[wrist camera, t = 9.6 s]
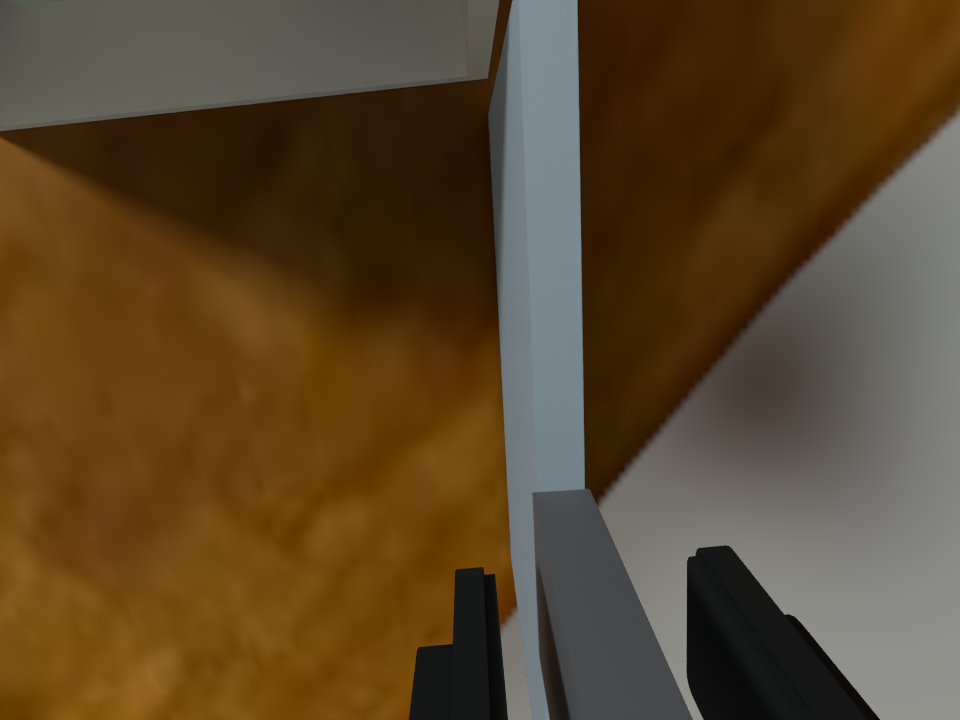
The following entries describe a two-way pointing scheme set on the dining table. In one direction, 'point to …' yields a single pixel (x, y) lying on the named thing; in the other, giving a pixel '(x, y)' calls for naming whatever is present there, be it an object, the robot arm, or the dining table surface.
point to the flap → (557, 398)
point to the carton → (225, 53)
